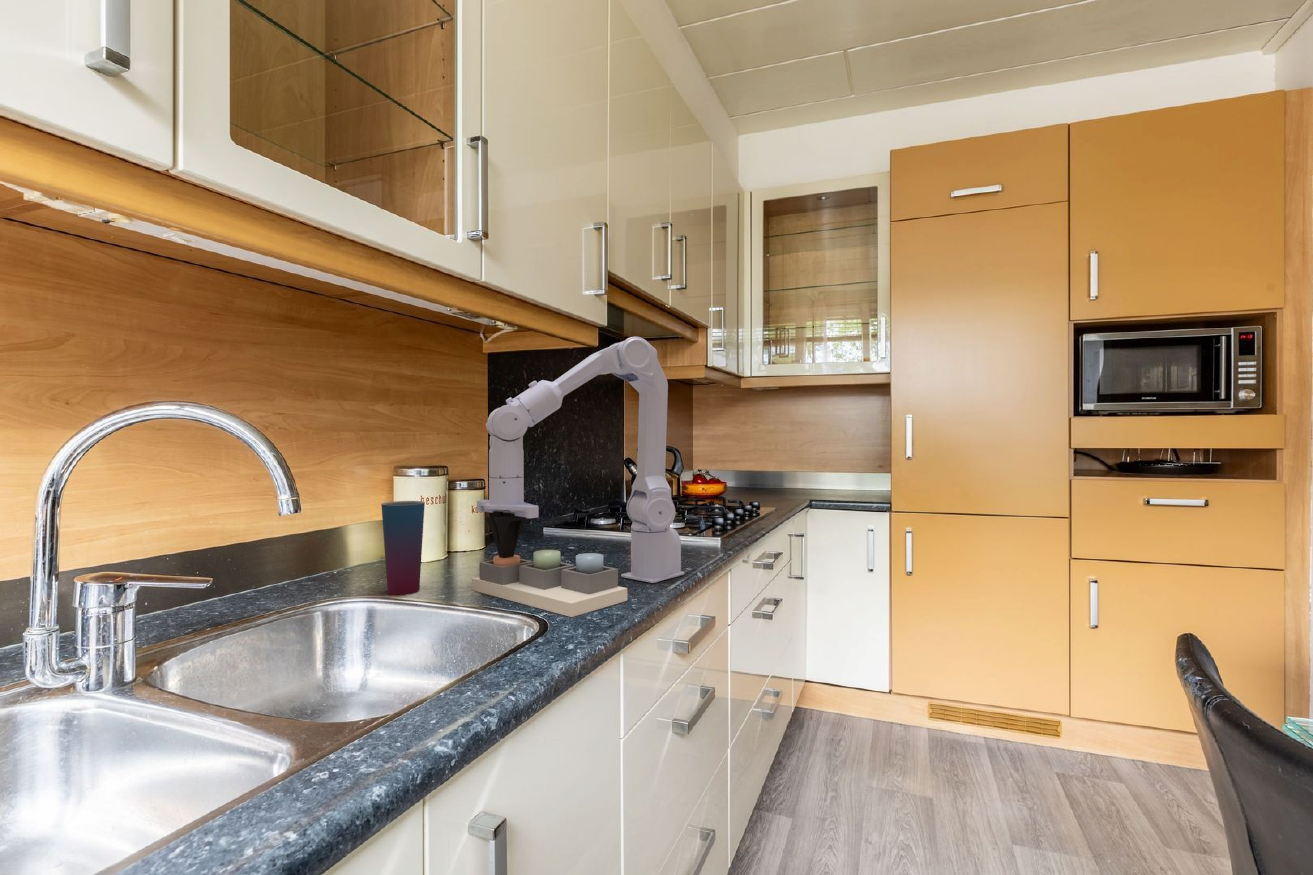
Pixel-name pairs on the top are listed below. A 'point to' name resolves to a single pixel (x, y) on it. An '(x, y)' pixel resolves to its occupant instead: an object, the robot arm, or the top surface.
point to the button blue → (589, 563)
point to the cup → (403, 545)
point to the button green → (546, 559)
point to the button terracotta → (506, 560)
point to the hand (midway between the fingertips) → (506, 557)
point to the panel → (551, 587)
